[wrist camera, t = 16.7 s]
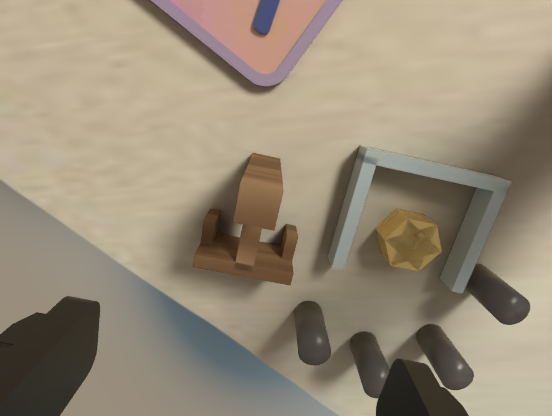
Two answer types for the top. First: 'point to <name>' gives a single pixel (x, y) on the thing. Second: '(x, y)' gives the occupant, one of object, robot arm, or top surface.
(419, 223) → the yellow wooden hexagonal block
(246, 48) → the icon
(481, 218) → the grey u-shaped bracket
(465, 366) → the spacers
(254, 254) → the wooden block stand
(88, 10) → the top surface
